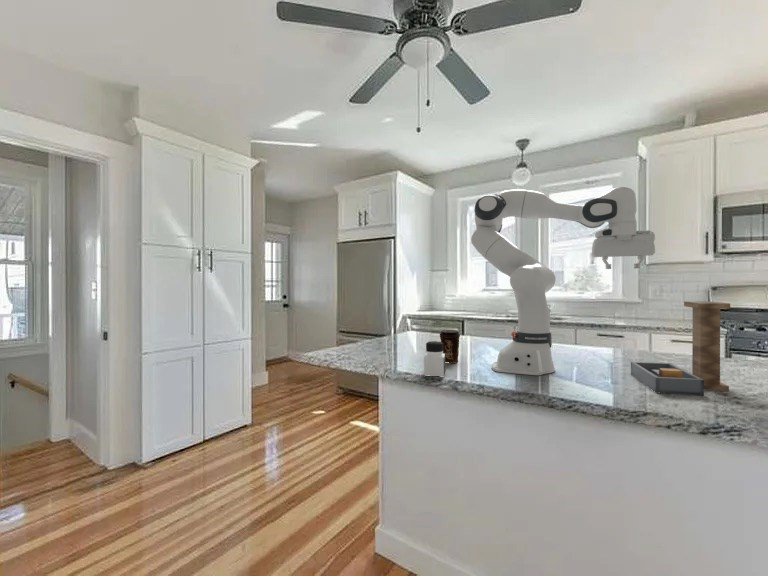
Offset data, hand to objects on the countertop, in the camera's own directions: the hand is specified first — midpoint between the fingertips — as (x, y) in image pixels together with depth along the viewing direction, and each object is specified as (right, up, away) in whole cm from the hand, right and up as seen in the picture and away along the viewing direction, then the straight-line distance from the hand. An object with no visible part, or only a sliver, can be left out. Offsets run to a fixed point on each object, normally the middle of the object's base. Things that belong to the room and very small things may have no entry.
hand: (622, 268), depth 146 cm
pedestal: (+10, -38, -25) cm, 46 cm away
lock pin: (0, -37, -21) cm, 42 cm away
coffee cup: (-62, -38, +16) cm, 74 cm away
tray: (0, -38, -22) cm, 44 cm away
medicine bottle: (-71, -39, -4) cm, 81 cm away
